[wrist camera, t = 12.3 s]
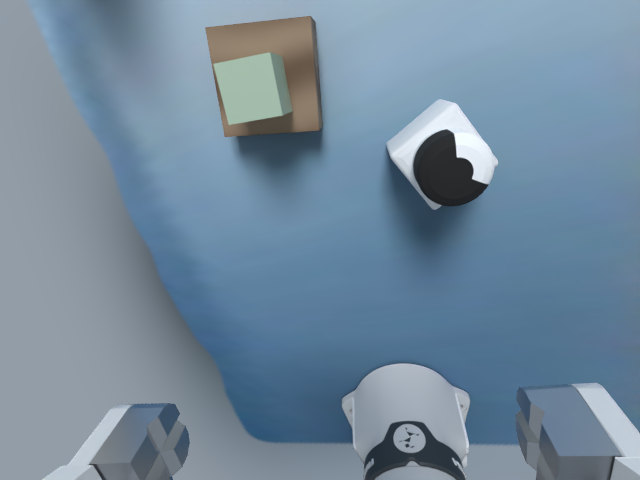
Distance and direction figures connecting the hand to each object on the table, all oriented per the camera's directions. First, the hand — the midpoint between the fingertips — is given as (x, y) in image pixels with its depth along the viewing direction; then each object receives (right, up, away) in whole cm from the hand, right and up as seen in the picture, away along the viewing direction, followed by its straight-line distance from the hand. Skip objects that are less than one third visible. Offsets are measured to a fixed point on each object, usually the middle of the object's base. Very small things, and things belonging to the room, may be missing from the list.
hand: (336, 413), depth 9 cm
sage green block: (-6, +19, +27) cm, 34 cm away
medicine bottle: (+12, +14, +31) cm, 36 cm away
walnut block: (-5, +21, +30) cm, 37 cm away
